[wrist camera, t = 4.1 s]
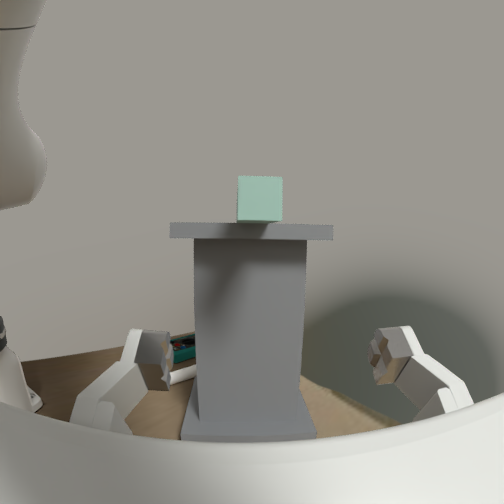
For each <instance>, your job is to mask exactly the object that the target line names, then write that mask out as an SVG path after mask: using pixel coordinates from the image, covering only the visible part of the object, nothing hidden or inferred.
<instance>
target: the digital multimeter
mask: <svg viewBox="0 0 504 504" xmlns="http://www.w3.org/2000/svg"><path fill="white" fill-rule="evenodd" d="M170 344H171V345H172V346H173V354H174V357H173V363H179V362H182V361H184V360H187V359H190V358H193V357H196V345H195V334H192V335H188V336H185V337H181V338H177V339H173V340H170Z"/></svg>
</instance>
